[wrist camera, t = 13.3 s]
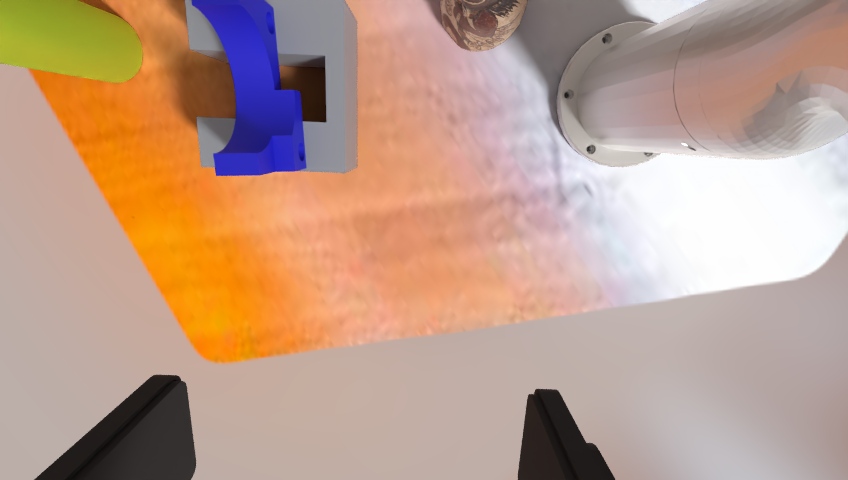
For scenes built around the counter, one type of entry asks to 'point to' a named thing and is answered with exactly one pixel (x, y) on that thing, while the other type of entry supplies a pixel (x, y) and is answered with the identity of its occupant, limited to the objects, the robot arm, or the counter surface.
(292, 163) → the cable clip
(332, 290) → the counter surface
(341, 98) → the slotted block
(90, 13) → the soap dispenser
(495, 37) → the figurine
